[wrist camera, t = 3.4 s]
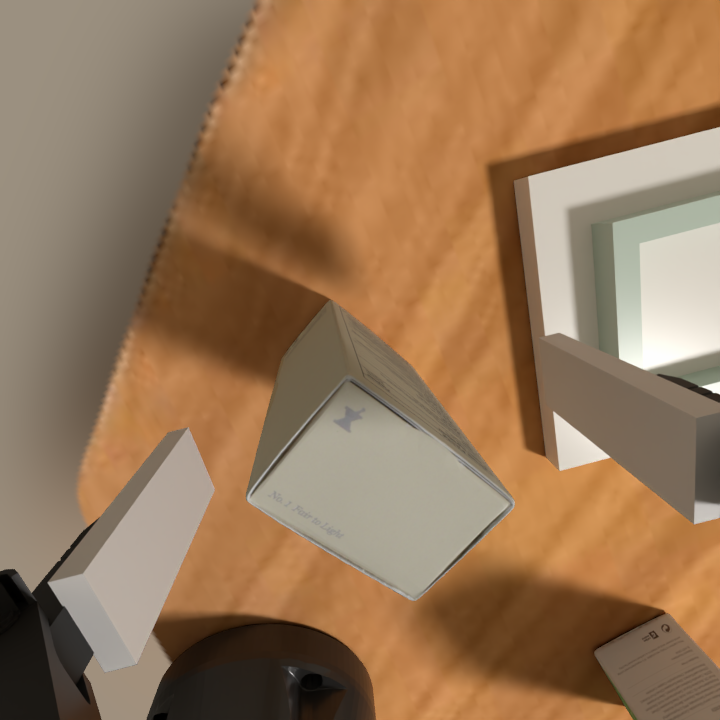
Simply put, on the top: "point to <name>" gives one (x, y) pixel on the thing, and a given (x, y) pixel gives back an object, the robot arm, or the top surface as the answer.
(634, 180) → the collar plate
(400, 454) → the skincare box
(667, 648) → the skincare box
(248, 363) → the top surface
